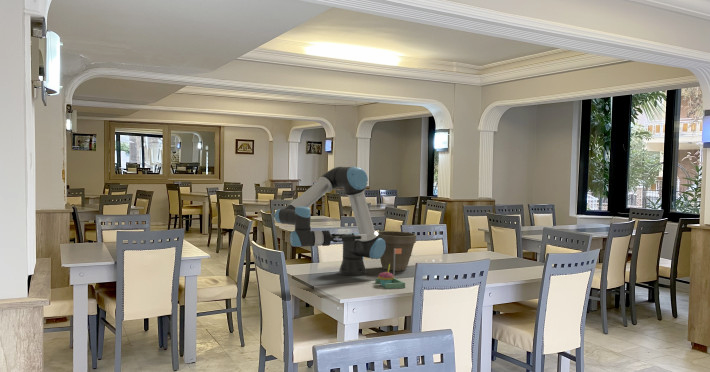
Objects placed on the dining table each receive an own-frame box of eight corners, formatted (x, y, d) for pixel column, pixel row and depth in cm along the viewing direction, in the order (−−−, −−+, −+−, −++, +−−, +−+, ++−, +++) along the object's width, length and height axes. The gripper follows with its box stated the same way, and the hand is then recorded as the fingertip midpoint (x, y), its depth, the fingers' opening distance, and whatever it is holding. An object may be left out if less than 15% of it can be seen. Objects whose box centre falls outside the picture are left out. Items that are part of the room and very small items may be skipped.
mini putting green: (386, 288, 283) (386, 253, 282) (374, 282, 297) (375, 248, 297) (412, 287, 288) (413, 252, 287) (400, 281, 302) (401, 248, 302)
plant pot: (422, 268, 343) (423, 233, 343) (404, 274, 322) (405, 236, 322) (386, 263, 356) (387, 229, 356) (366, 269, 335) (367, 233, 335)
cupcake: (393, 284, 295) (393, 261, 294) (394, 287, 286) (395, 264, 286) (377, 283, 295) (377, 260, 295) (377, 287, 286) (378, 263, 286)
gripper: (317, 244, 283) (361, 242, 291) (325, 247, 271) (370, 246, 279) (318, 229, 283) (362, 228, 291) (325, 232, 271) (371, 231, 278)
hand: (366, 237), depth 285 cm, fingers closed
